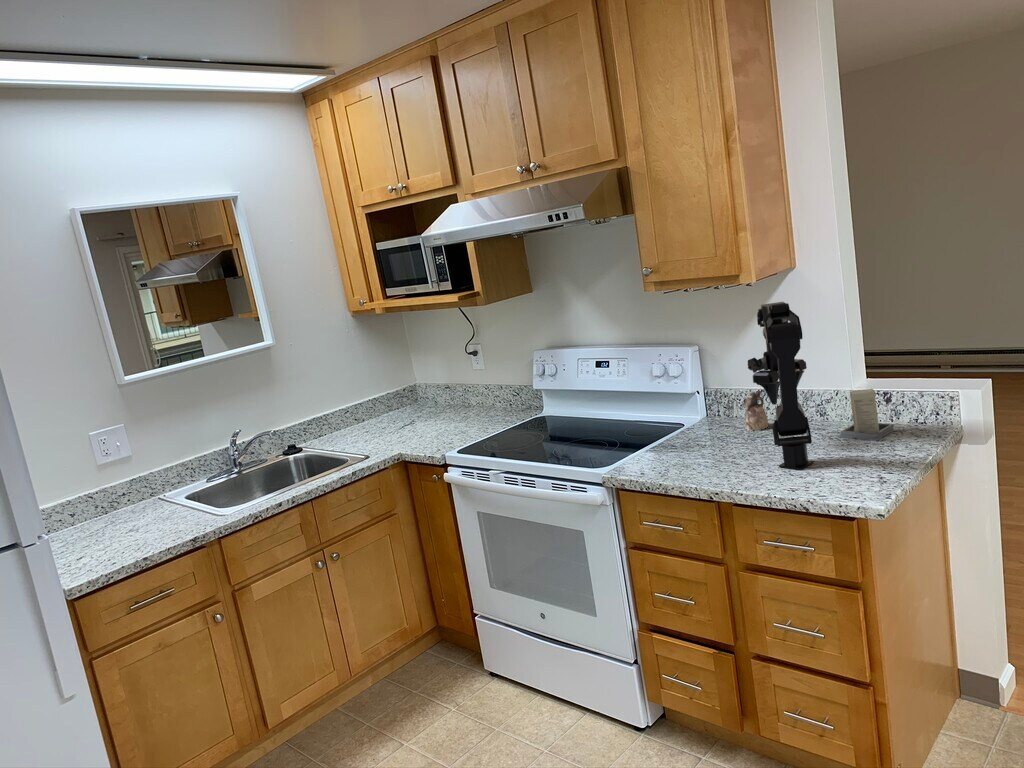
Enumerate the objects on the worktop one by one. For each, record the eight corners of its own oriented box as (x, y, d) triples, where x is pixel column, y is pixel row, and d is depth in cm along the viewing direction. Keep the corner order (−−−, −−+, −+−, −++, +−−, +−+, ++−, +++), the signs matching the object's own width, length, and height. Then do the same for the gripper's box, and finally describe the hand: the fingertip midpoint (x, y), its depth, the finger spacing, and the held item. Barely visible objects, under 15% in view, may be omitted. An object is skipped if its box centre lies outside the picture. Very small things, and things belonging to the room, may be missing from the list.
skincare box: (877, 429, 218) (873, 388, 216) (879, 433, 214) (876, 391, 212) (853, 431, 221) (849, 390, 218) (855, 435, 216) (851, 393, 214)
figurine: (744, 426, 246) (739, 390, 244) (767, 423, 245) (762, 387, 243) (746, 432, 240) (742, 395, 237) (770, 429, 238) (765, 392, 236)
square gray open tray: (877, 440, 210) (876, 434, 210) (840, 437, 218) (840, 431, 218) (894, 430, 217) (893, 424, 216) (858, 427, 225) (857, 421, 224)
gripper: (770, 340, 228) (775, 391, 231) (733, 354, 217) (739, 407, 219) (804, 340, 219) (810, 392, 222) (768, 354, 208) (774, 409, 211)
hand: (783, 400), depth 219 cm, fingers open, 9 cm apart
